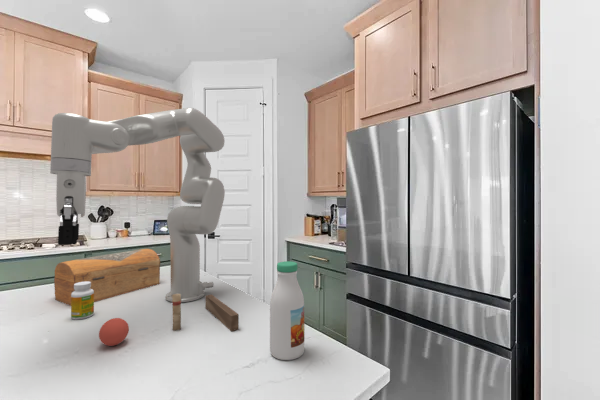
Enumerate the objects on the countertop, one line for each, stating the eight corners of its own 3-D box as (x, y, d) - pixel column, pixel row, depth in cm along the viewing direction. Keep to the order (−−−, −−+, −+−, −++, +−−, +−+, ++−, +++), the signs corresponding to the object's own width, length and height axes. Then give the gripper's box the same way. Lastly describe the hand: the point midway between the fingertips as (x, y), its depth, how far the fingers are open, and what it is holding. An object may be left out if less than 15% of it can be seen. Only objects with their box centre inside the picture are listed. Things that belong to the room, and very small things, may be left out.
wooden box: (137, 279, 128) (137, 246, 128) (161, 284, 119) (161, 250, 119) (51, 299, 102) (51, 259, 102) (74, 308, 93) (73, 264, 93)
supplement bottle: (81, 320, 84) (81, 286, 83) (66, 319, 85) (65, 285, 85) (98, 313, 89) (98, 281, 89) (83, 312, 90) (83, 280, 90)
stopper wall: (211, 306, 94) (211, 294, 94) (238, 329, 78) (238, 314, 78) (205, 308, 93) (205, 295, 93) (231, 331, 77) (231, 316, 77)
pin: (179, 326, 80) (179, 293, 80) (181, 329, 78) (181, 295, 78) (171, 328, 79) (171, 294, 79) (173, 331, 77) (173, 296, 77)
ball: (127, 336, 74) (127, 312, 74) (130, 345, 69) (130, 320, 69) (98, 343, 71) (98, 317, 71) (99, 353, 66) (99, 326, 66)
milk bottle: (278, 365, 61) (278, 268, 61) (264, 348, 68) (264, 261, 68) (310, 355, 65) (310, 264, 65) (294, 340, 72) (294, 258, 72)
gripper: (91, 165, 64) (88, 245, 64) (91, 173, 78) (89, 238, 78) (45, 162, 60) (42, 247, 59) (54, 170, 74) (52, 239, 74)
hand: (68, 242), depth 69 cm, fingers open, 9 cm apart
